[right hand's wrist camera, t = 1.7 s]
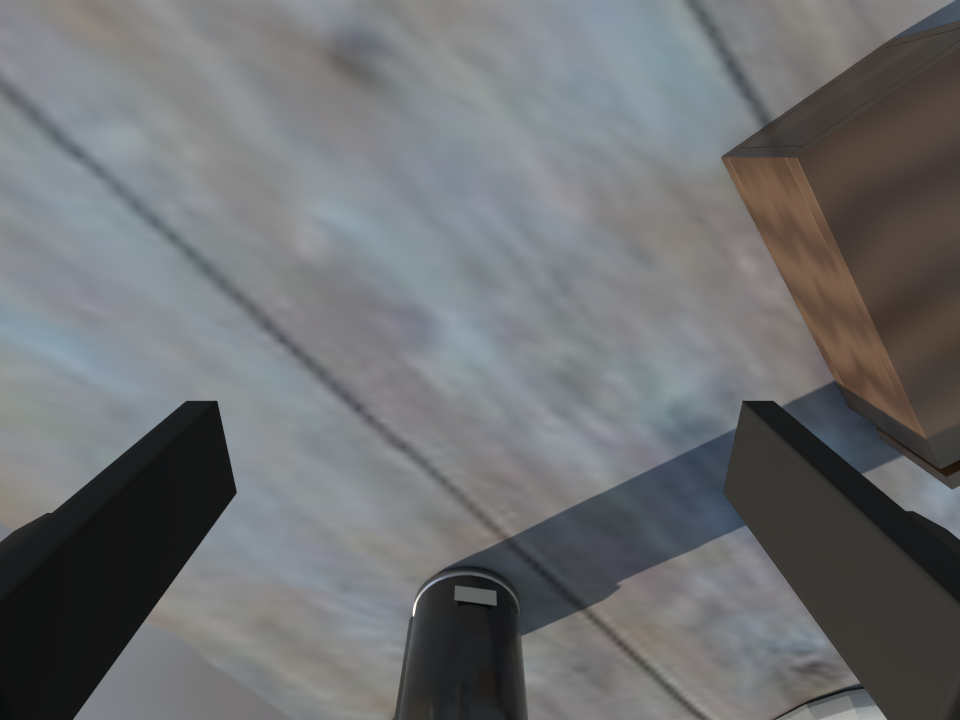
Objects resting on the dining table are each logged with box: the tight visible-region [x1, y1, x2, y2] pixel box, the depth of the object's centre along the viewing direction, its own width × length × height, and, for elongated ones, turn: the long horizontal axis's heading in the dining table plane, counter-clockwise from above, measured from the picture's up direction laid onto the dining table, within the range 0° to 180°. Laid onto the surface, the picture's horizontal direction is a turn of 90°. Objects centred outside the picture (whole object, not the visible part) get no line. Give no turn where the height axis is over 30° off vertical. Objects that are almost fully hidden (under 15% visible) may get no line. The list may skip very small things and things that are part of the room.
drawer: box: [876, 427, 960, 489], centre depth 32 cm, size 26×10×6 cm, turn 36°
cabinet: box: [721, 21, 960, 469], centre depth 30 cm, size 22×11×8 cm, turn 36°
